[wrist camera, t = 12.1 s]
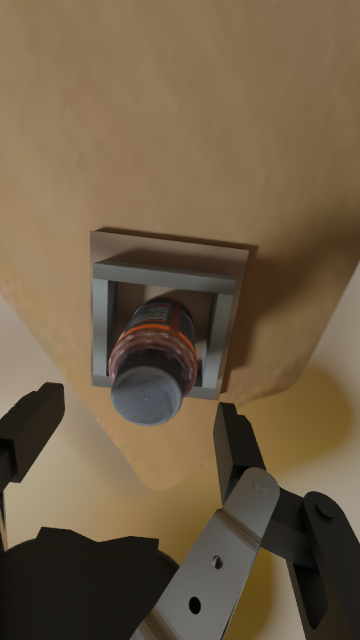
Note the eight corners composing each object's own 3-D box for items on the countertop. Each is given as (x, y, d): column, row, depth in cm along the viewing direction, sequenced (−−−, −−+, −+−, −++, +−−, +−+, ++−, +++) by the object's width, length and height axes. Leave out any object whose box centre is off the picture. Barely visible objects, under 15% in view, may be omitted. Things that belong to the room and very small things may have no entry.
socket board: (94, 230, 22) (75, 230, 18) (246, 249, 22) (258, 252, 19) (94, 380, 27) (79, 404, 24) (217, 394, 28) (222, 420, 24)
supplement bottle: (121, 318, 24) (67, 386, 13) (169, 282, 22) (154, 326, 12) (158, 362, 25) (137, 455, 15) (205, 331, 24) (221, 409, 13)
